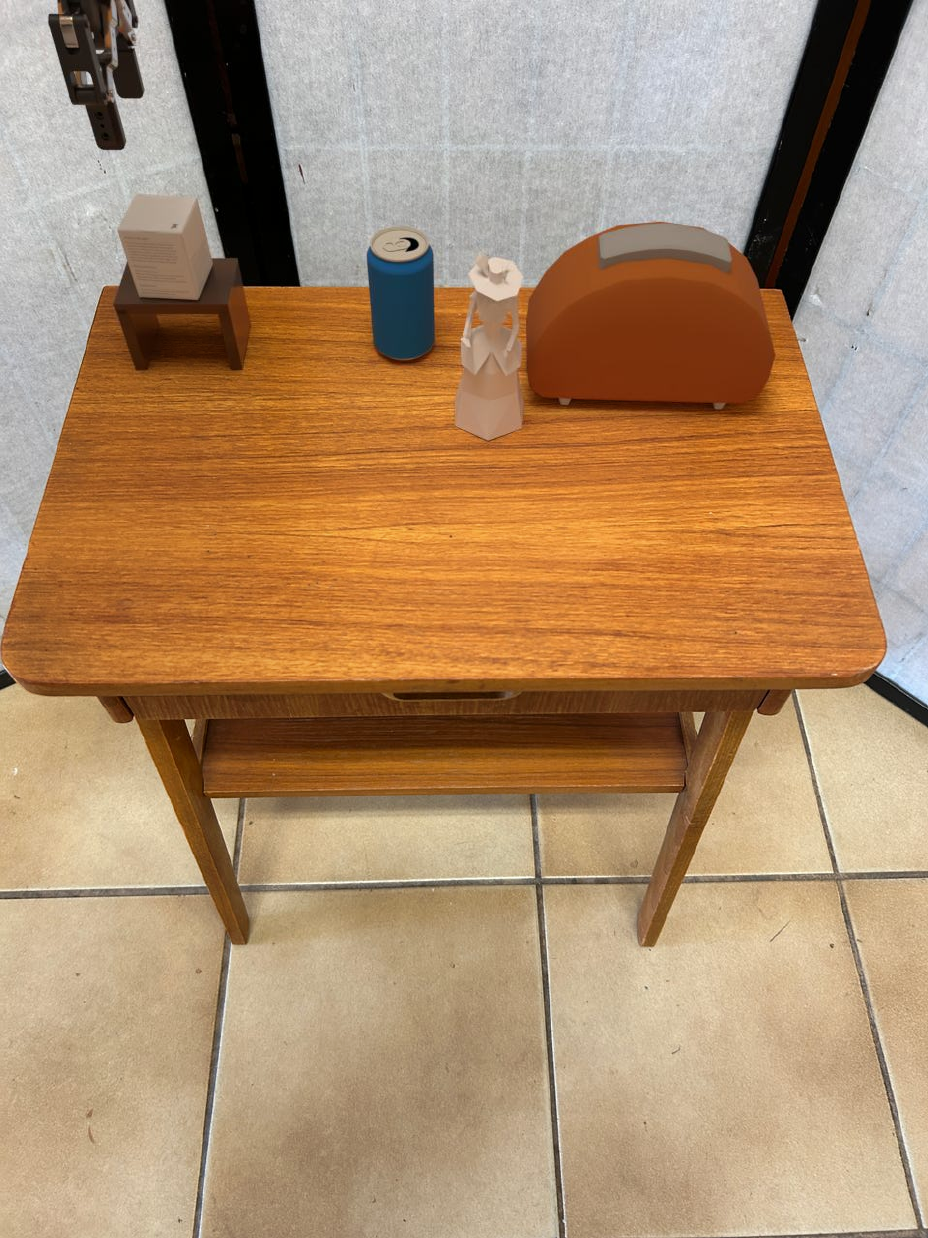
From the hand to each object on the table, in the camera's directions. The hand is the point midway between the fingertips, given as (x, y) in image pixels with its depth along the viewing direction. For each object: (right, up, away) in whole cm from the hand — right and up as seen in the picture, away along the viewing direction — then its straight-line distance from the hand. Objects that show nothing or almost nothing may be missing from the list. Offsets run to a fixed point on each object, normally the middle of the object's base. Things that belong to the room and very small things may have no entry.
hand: (122, 121), depth 78 cm
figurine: (+31, -21, +17) cm, 40 cm away
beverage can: (+22, -12, +23) cm, 34 cm away
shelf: (0, -12, +22) cm, 25 cm away
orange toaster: (+46, -17, +19) cm, 53 cm away
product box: (0, -8, +15) cm, 17 cm away
